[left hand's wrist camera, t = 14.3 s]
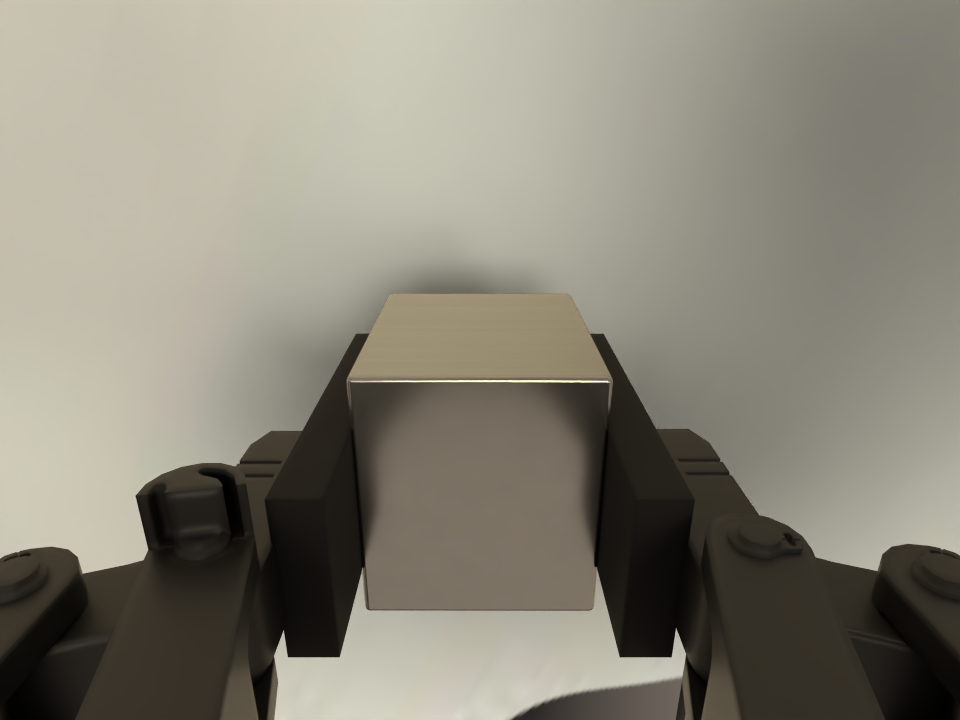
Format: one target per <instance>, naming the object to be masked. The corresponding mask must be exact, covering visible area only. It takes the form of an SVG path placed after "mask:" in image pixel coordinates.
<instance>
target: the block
mask: <svg viewBox="0 0 960 720" xmlns="http://www.w3.org/2000/svg"><path fill="white" fill-rule="evenodd" d="M612 386H613V380H612V377H611V375H610V373H609V371H608V369H607V367H606V365H605V363H604V361H603V359H602V357H601V355H600V353H599V351H598V349H597V347H596V345H595V343H594V341H593V339H592V337H591V335H590V333H589V331H588V329H587V327H586V325H585V323H584V321H583V319H582V317H581V315H580V313H579V311H578V309H577V307H576V305H575V303H574V301H573V299H572V297H571V295H569V294H390V295H389V296H388V298H387V300H386V302H385V304H384V306H383V308H382V310H381V312H380V314H379V316H378V318H377V320H376V322H375V324H374V326H373V328H372V330H371V332H370V334H369V336H368V338H367V340H366V342H365V344H364V346H363V348H362V350H361V352H360V354H359V356H358V358H357V360H356V362H355V364H354V366H353V368H352V370H351V372H350V374H349V375H348V378H347V393H348V404H349V416H350V428H351V435H352V447H353V459H354V471H355V483H356V495H357V507H358V519H359V531H360V543H361V555H362V567H363V568H362V572H363V584H364V596H365V606H366V608H367V609H368V610H592V608H593V606H594V597H595V585H596V574H597V559H598V547H599V535H600V524H601V512H602V500H603V488H604V476H605V464H606V453H607V441H608V429H609V421H610V410H611V398H612Z"/></svg>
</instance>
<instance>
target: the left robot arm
mask: <svg viewBox="0 0 960 720" xmlns="http://www.w3.org/2000/svg"><path fill="white" fill-rule="evenodd" d="M590 335H591V337H592V339H593V341H594V343H595V345H596V347H597V349H598V351H599V353H600V355H601V357H602V359H603V361H604V363H605V365H606V367H607V369H608V371H609V373H610V375H611V377H612V380H613V386H612V398H611V410H610V421H609V429H608V441H607V453H606V464H605V476H604V488H603V500H602V512H601V524H600V535H599V547H598V559H597V570H598V573H599V577H600V581H601V585H602V589H603V593H604V597H605V601H606V605H607V609H608V613H609V616H610V620H611V624H612V628H613V632H614V636H615V640H616V644H617V648H618V652H619V656H620V657H672V651H673V644H674V637H675V631H676V628H677V631H678V634H679V636H680V639H681V642H682V644H683V647H684V649H685V652H686V659H685V666H684V672H683V678H682V684H681V691H680V697H679V703H678V709H677V716H676V720H684V719H685V714H686V720H960V556H959V555H958V554H956V553H954V552H951V551H948V550H945V549H943V550H942V549H940V548H937V547H932V546H924V545H914V544H905V545H899V546H894V547H891V548H890V549H889V550H887V551H886V552H885V553H884V554H883V555H882V558H881V561H880V565H879V568H878V571H874V570H869V569H864V568H859V567H854V566H849V565H844V564H840V563H835V562H831V561H827V560H823V559H819V558H816V557H815V555H814V553H813V551H812V549H811V547H810V546H809V545H808V543H807V542H806V541H805V539H804V538H803V537H802V536H801V535H800V534H798V533H797V532H796V531H794V530H793V529H791V528H790V527H789V526H787V525H785V524H783V523H780V522H778V521H776V520H773V519H771V518H769V517H764V516H760V515H759V514H758V513H757V511H756V510H755V509H754V507H753V506H752V504H751V503H750V501H749V500H748V498H747V497H746V496H745V494H744V493H743V491H742V490H741V488H740V487H739V485H738V484H737V482H736V481H735V480H734V478H733V477H732V475H729V471H728V469H727V468H726V467H725V465H724V464H723V462H720V458H719V456H718V455H717V454H716V452H715V451H714V449H713V448H712V446H711V445H710V443H709V442H707V441H706V440H704V439H703V438H701V437H700V436H698V435H697V434H695V433H694V432H692V431H691V430H689V429H656V428H655V426H654V424H653V423H652V421H651V419H650V417H649V415H648V414H647V412H646V410H645V408H644V406H643V405H642V403H641V401H640V399H639V397H638V396H637V394H636V392H635V390H634V388H633V387H632V385H631V383H630V381H629V379H628V377H627V376H626V374H625V372H624V370H623V368H622V367H621V365H620V363H619V361H618V359H617V358H616V356H615V354H614V352H613V350H612V349H611V347H610V345H609V343H608V341H607V339H606V338H605V336H604V334H590ZM368 336H369V334H356V335H355V337H354V339H353V341H352V342H351V344H350V346H349V348H348V350H347V351H346V353H345V355H344V357H343V359H342V360H341V362H340V364H339V366H338V368H337V369H336V371H335V373H334V375H333V377H332V378H331V380H330V382H329V384H328V386H327V387H326V389H325V391H324V393H323V395H322V397H321V398H320V400H319V402H318V404H317V406H316V407H315V409H314V411H313V413H312V415H311V416H310V418H309V420H308V422H307V424H306V425H305V427H304V429H303V431H271V432H269V433H268V434H266V435H265V436H263V437H262V438H260V439H259V440H257V441H256V442H254V443H253V444H251V445H250V447H249V448H248V450H247V451H246V453H245V454H244V455H243V457H242V458H241V460H240V464H237V466H236V467H235V466H230V465H226V464H222V463H201V464H195V465H190V466H185V467H180V468H178V469H175V470H172V471H170V472H167V473H164V474H162V475H160V476H158V477H157V478H155V479H154V480H152V481H150V482H149V483H147V484H146V485H145V486H144V487H143V488H142V489H141V490H140V491H139V493H138V494H137V495H136V499H137V504H138V508H139V512H140V516H141V520H142V525H143V529H144V533H145V537H146V541H147V546H148V552H147V554H146V557H145V559H144V560H143V561H139V562H135V563H132V564H128V565H124V566H119V567H114V568H109V569H104V570H99V571H94V572H90V573H85V574H82V570H81V567H80V563H79V560H78V557H77V556H76V555H74V554H73V553H72V552H71V551H70V550H68V549H62V548H56V547H45V548H34V549H28V550H23V551H20V552H18V553H17V552H15V553H12V554H9V555H6V556H4V557H2V558H1V559H0V720H274V715H275V706H276V696H277V687H278V679H277V672H276V666H275V659H274V654H275V651H276V649H277V646H278V644H279V641H280V638H281V636H282V633H283V630H284V634H285V640H286V647H287V654H288V657H340V654H341V650H342V646H343V642H344V638H345V634H346V630H347V626H348V623H349V619H350V615H351V611H352V607H353V603H354V599H355V595H356V591H357V587H358V584H359V580H360V576H361V572H362V568H363V567H362V555H361V543H360V531H359V519H358V507H357V495H356V483H355V471H354V459H353V447H352V435H351V428H350V416H349V404H348V393H347V378H348V375H349V374H350V372H351V370H352V368H353V366H354V364H355V362H356V360H357V358H358V356H359V354H360V352H361V350H362V348H363V346H364V344H365V342H366V340H367V338H368Z"/></svg>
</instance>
